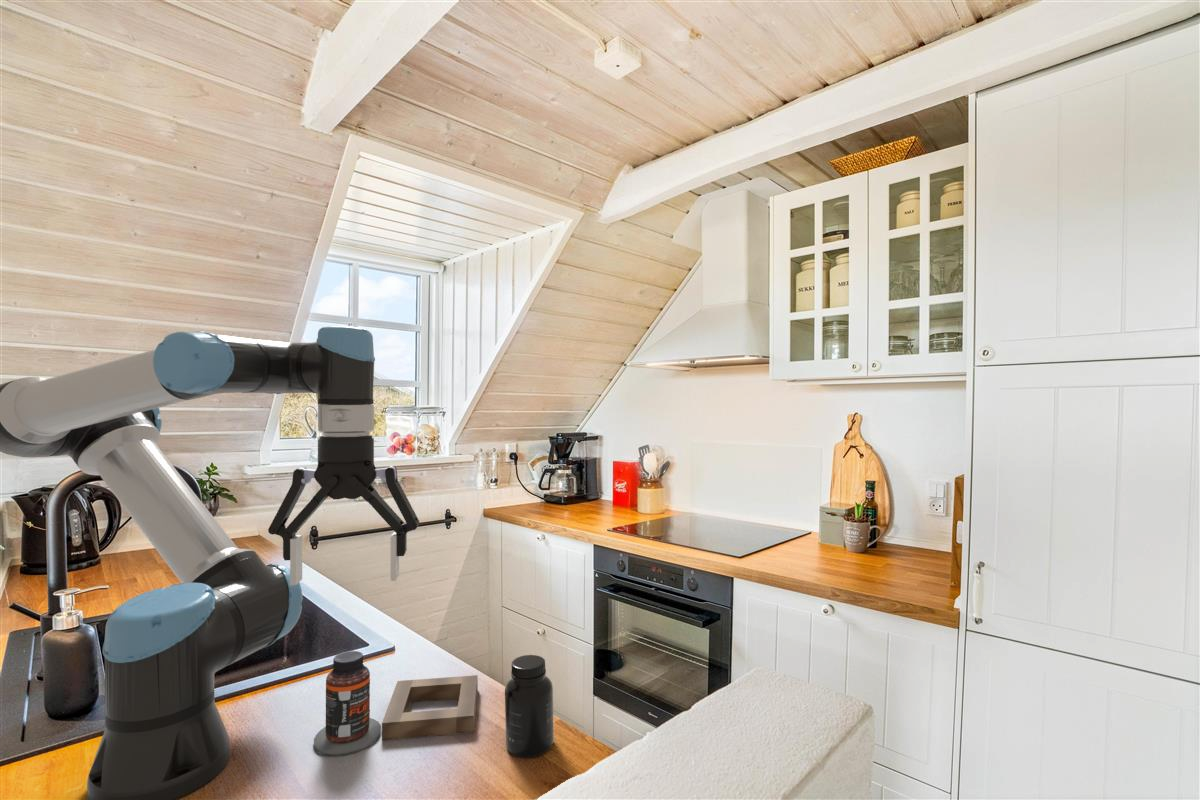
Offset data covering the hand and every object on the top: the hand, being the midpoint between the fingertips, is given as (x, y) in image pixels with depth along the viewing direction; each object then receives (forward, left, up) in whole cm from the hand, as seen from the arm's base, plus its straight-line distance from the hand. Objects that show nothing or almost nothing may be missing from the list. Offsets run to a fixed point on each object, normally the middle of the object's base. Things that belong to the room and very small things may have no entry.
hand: (346, 580), depth 88 cm
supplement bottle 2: (+26, -6, -23) cm, 36 cm away
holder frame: (+12, +5, -23) cm, 26 cm away
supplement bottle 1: (0, 0, -23) cm, 23 cm away
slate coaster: (0, 0, -23) cm, 23 cm away
